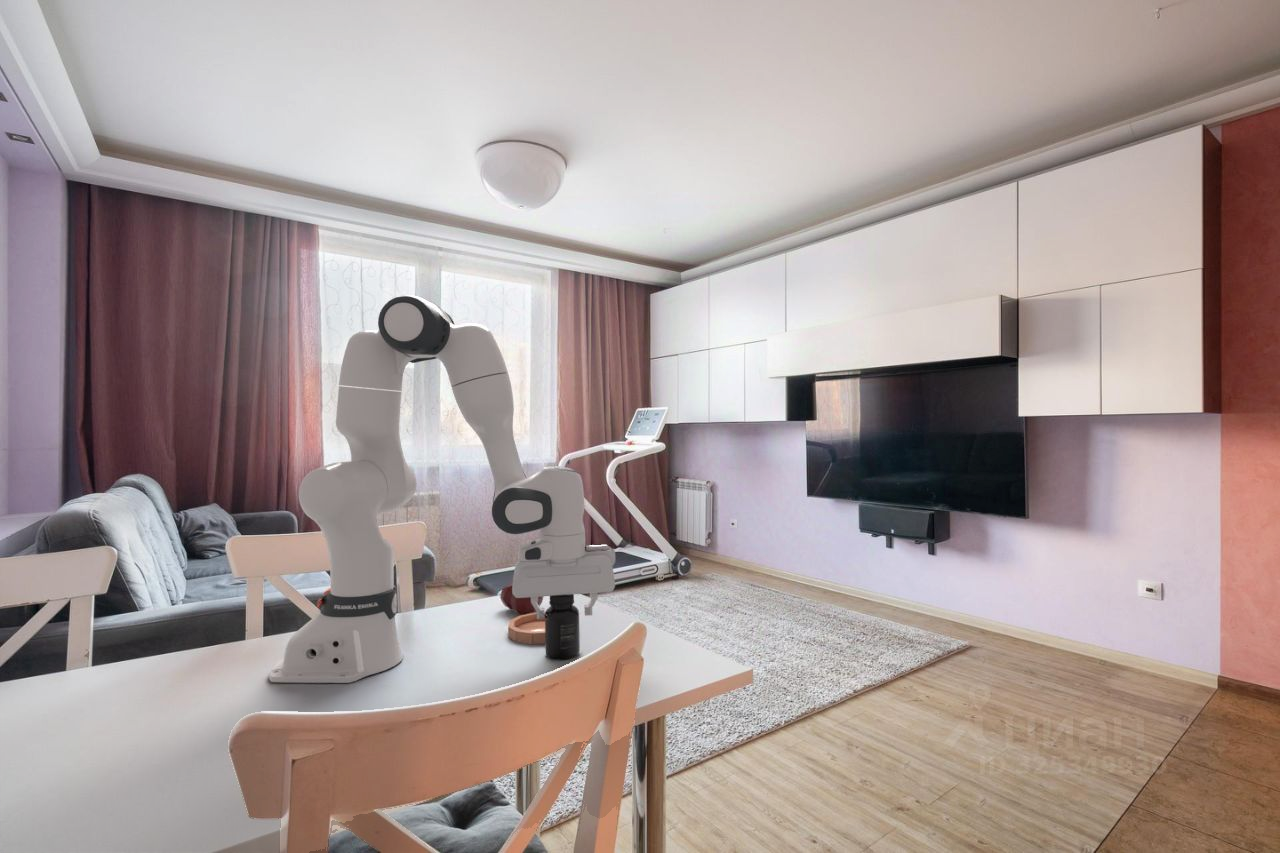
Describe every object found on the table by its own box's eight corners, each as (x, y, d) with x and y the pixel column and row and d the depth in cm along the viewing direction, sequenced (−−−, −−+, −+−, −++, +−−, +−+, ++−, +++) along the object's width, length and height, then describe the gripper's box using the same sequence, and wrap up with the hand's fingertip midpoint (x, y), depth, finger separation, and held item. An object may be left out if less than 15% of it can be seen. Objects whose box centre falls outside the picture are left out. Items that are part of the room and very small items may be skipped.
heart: (534, 598, 157) (498, 610, 151) (530, 570, 156) (494, 581, 150) (556, 611, 147) (519, 624, 141) (552, 580, 146) (515, 592, 140)
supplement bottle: (582, 648, 123) (582, 589, 123) (575, 661, 116) (575, 599, 117) (549, 647, 124) (549, 589, 124) (541, 660, 117) (540, 598, 117)
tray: (506, 645, 125) (506, 635, 125) (510, 623, 139) (510, 613, 139) (576, 641, 127) (576, 630, 127) (572, 619, 142) (572, 610, 142)
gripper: (613, 541, 125) (614, 608, 125) (512, 546, 122) (513, 615, 122) (616, 547, 119) (618, 617, 119) (510, 552, 115) (512, 625, 115)
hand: (564, 616), depth 120 cm, fingers open, 8 cm apart
